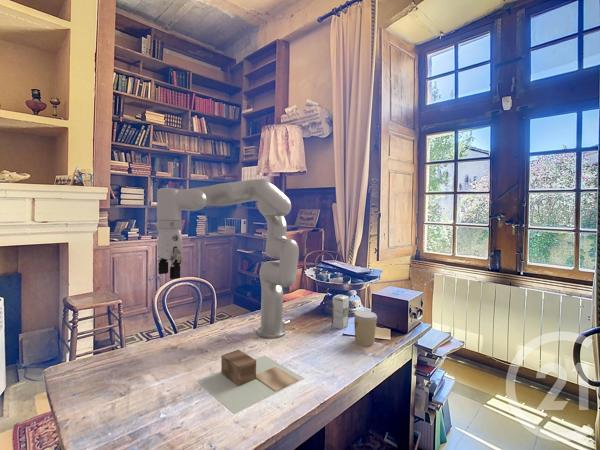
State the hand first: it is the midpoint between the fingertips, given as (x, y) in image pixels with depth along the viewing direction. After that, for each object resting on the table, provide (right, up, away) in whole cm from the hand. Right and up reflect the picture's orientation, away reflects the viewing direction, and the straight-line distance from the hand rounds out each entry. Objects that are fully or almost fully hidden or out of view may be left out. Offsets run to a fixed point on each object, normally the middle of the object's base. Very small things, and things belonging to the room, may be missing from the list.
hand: (169, 276), depth 106 cm
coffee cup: (+71, -32, +25) cm, 82 cm away
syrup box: (+63, -31, +42) cm, 82 cm away
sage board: (+29, -32, -8) cm, 44 cm away
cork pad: (+37, -31, -7) cm, 48 cm away
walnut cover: (+25, -31, -6) cm, 40 cm away
